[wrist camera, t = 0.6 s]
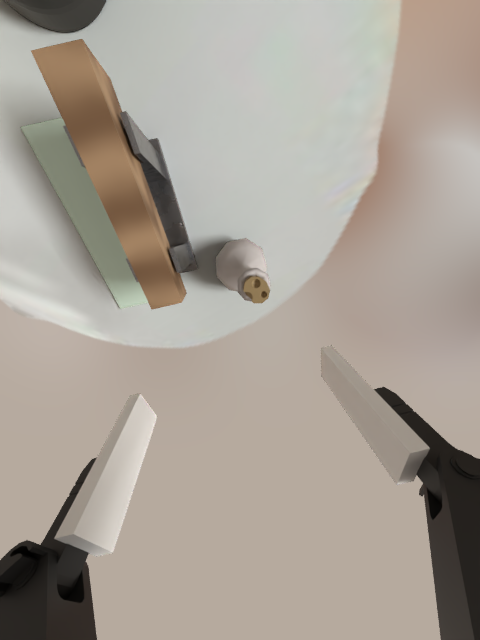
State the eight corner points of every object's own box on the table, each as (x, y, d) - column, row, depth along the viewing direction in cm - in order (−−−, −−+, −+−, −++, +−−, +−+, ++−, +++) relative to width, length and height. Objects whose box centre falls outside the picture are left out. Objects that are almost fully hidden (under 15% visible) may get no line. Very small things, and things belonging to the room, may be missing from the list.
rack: (110, 152, 25) (46, 104, 16) (159, 140, 25) (123, 86, 16) (161, 277, 33) (138, 294, 24) (198, 268, 33) (189, 282, 24)
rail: (69, 88, 17) (30, 50, 14) (110, 78, 17) (82, 39, 14) (160, 299, 27) (151, 309, 24) (186, 293, 27) (181, 302, 24)
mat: (24, 129, 24) (20, 127, 23) (83, 115, 24) (80, 113, 23) (121, 308, 35) (120, 309, 35) (161, 298, 35) (161, 299, 35)
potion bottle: (237, 295, 36) (251, 344, 20) (206, 260, 33) (192, 286, 17) (272, 265, 35) (317, 294, 18) (242, 225, 31) (267, 218, 15)
